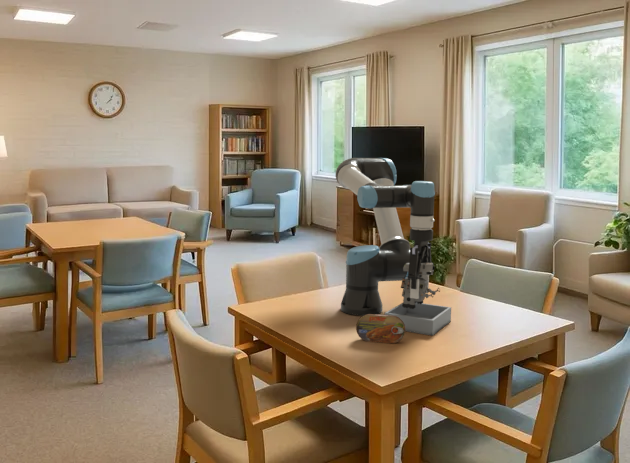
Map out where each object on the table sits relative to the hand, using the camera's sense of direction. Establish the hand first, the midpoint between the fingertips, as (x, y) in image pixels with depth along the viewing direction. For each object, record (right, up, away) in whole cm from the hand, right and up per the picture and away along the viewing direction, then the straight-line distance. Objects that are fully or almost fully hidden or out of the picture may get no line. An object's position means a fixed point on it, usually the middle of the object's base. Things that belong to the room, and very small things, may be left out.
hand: (419, 295), depth 211 cm
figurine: (0, -4, +1) cm, 4 cm away
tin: (-15, -13, -16) cm, 25 cm away
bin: (0, -10, +2) cm, 10 cm away
